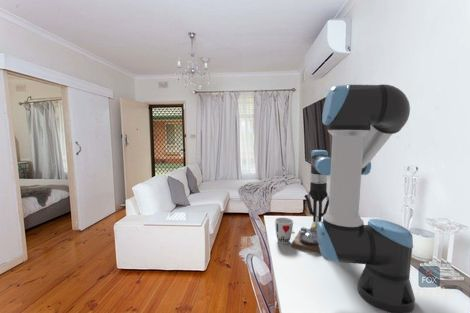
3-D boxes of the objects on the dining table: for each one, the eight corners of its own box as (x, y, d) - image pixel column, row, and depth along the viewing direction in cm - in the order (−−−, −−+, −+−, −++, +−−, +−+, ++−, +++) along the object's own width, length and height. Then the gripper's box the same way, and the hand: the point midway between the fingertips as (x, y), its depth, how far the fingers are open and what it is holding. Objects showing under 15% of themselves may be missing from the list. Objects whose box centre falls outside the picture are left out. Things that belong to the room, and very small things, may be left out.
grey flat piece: (323, 247, 103) (323, 238, 102) (296, 242, 107) (297, 233, 107) (325, 230, 120) (325, 222, 120) (302, 227, 125) (303, 219, 124)
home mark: (294, 232, 123) (294, 232, 123) (291, 233, 122) (291, 232, 122) (289, 229, 127) (289, 229, 126) (287, 230, 126) (287, 229, 126)
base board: (324, 255, 101) (325, 250, 100) (291, 247, 107) (291, 242, 107) (329, 241, 113) (329, 237, 113) (299, 235, 119) (299, 231, 119)
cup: (272, 242, 111) (272, 221, 110) (277, 236, 118) (278, 216, 117) (289, 246, 108) (290, 225, 107) (294, 239, 115) (294, 219, 114)
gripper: (333, 181, 117) (331, 228, 119) (306, 179, 123) (305, 224, 125) (331, 184, 110) (329, 234, 113) (303, 182, 116) (302, 229, 119)
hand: (317, 228), depth 119 cm, fingers closed
